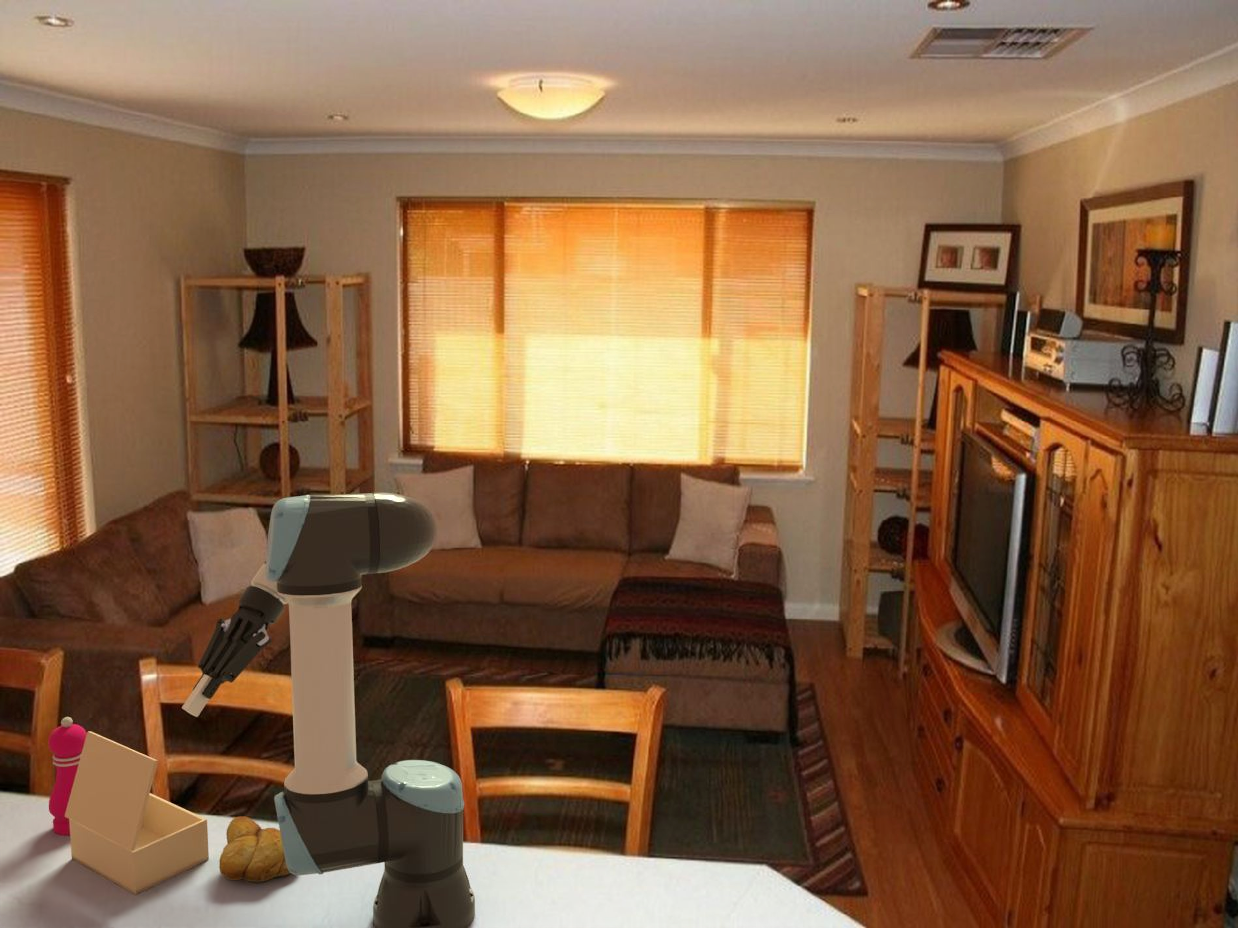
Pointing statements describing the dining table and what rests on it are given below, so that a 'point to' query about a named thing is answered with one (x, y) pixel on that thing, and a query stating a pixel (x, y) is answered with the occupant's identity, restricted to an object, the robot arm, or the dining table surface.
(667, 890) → the dining table surface
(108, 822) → the lid
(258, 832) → the bread roll
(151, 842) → the mailer box
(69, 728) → the pepper mill
